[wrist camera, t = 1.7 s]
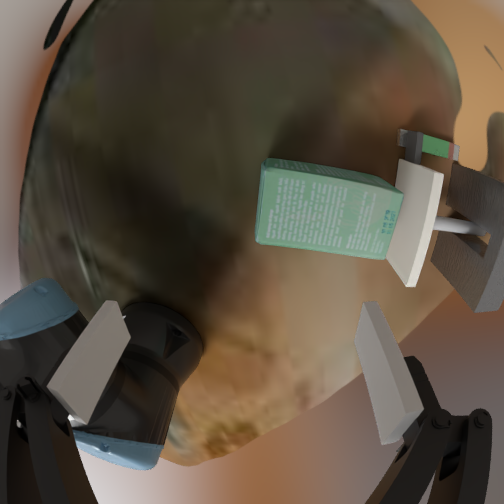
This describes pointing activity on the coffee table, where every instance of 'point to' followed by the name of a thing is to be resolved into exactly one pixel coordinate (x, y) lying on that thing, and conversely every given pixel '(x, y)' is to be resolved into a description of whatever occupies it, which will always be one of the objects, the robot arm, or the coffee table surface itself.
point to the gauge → (466, 245)
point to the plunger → (419, 213)
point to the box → (325, 209)
